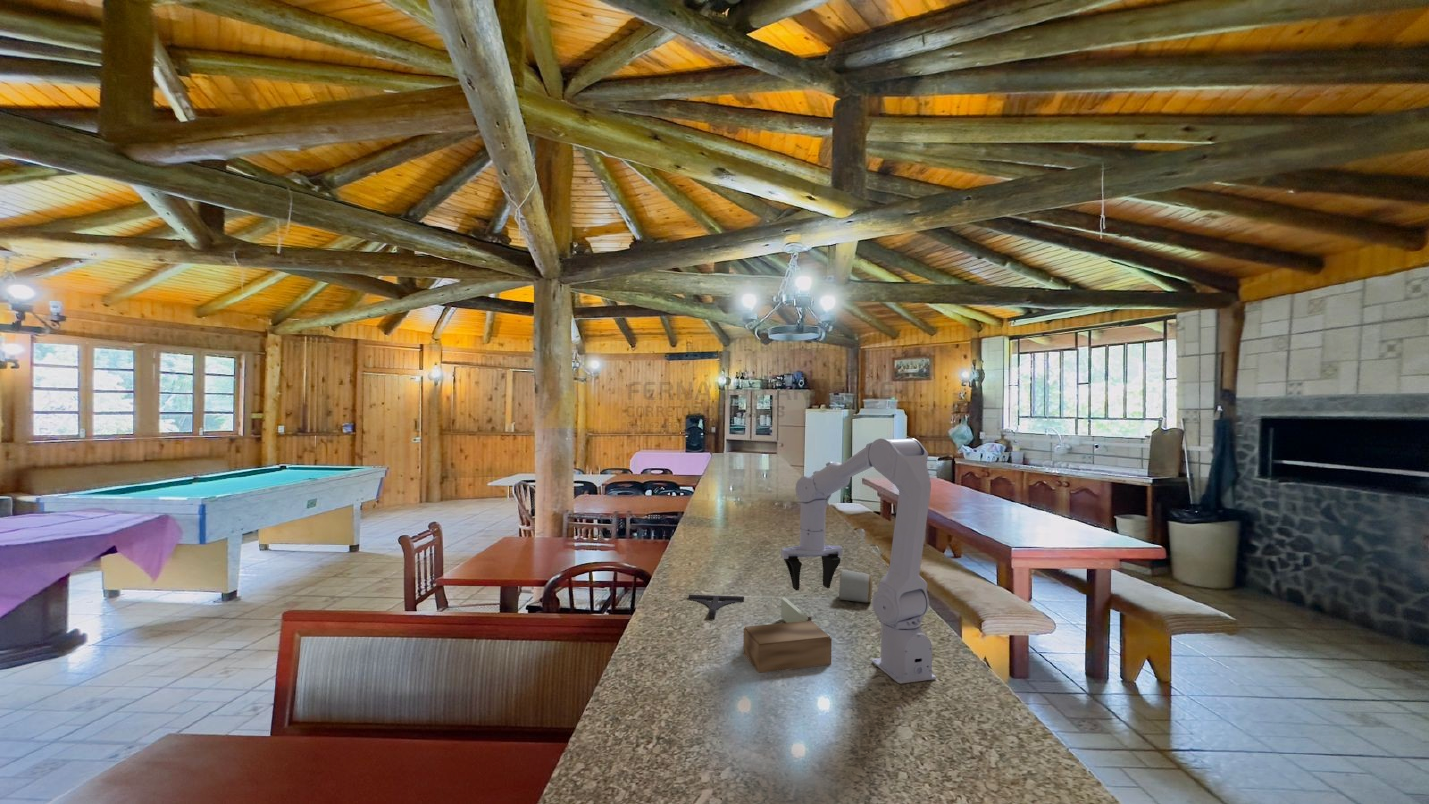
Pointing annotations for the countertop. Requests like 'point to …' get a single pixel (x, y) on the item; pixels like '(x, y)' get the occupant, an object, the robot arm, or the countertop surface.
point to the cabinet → (786, 646)
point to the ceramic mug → (855, 586)
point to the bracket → (715, 602)
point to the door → (791, 612)
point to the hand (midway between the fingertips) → (811, 588)
